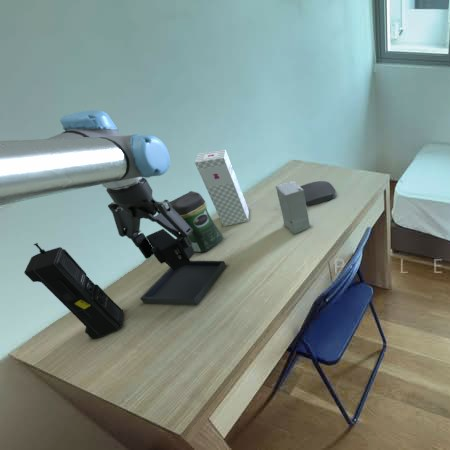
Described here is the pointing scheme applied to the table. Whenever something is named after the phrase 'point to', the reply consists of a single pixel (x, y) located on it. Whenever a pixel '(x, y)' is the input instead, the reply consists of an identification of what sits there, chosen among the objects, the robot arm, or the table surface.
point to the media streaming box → (318, 192)
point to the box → (222, 186)
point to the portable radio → (75, 291)
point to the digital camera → (167, 249)
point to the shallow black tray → (184, 283)
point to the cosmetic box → (293, 206)
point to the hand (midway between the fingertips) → (170, 255)
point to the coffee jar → (197, 221)
